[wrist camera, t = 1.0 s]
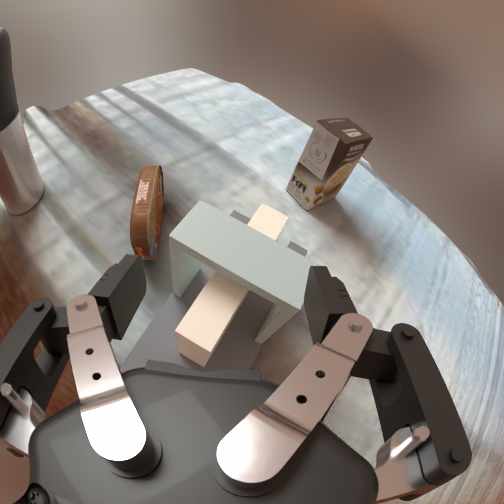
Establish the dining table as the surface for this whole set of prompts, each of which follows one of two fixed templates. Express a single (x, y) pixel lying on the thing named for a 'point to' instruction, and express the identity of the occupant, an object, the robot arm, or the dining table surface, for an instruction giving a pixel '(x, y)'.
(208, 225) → the tunnel
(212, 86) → the dining table surface
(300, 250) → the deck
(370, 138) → the coffee box
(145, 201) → the tin
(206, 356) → the block
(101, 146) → the dining table surface
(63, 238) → the dining table surface
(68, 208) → the dining table surface
